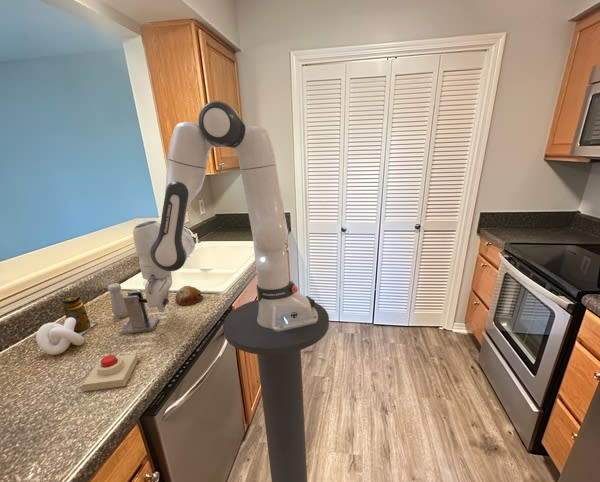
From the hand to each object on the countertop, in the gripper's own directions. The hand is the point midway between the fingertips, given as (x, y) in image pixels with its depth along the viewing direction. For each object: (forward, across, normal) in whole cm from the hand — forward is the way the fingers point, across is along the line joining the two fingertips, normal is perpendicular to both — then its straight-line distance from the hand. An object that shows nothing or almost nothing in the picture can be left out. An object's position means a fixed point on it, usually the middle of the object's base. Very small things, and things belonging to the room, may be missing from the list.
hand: (164, 307), depth 114 cm
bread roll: (+7, +19, -5) cm, 21 cm away
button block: (+7, -27, +9) cm, 29 cm away
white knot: (+7, -9, +29) cm, 31 cm away
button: (+3, -27, +9) cm, 29 cm away
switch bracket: (+7, 0, +9) cm, 11 cm away
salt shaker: (+7, +11, +19) cm, 23 cm away
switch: (-2, 0, +5) cm, 5 cm away
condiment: (+7, +3, +31) cm, 32 cm away
